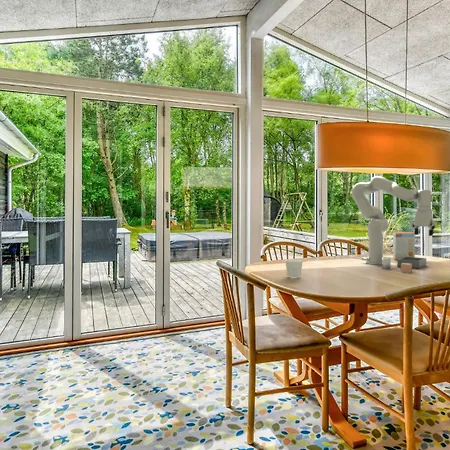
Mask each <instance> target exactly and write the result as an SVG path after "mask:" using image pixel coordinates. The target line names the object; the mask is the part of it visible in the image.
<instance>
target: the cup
mask: <svg viewBox="0 0 450 450" xmlns="http://www.w3.org/2000/svg"><path fill="white" fill-rule="evenodd" d="M284 260H285V267H286V277H287V276H290V277H299V276H301V277H302V269H303V260H302V259H299V258H298V259H296V258H294V259H293V258H290V259H284Z"/></svg>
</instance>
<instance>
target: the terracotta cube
mask: <svg viewBox="0 0 450 450" xmlns="http://www.w3.org/2000/svg"><path fill="white" fill-rule="evenodd" d="M412 269H413V268H412V264H409V263H402V264H401V267H400V272H401V273H411V272H413V270H412Z"/></svg>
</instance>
